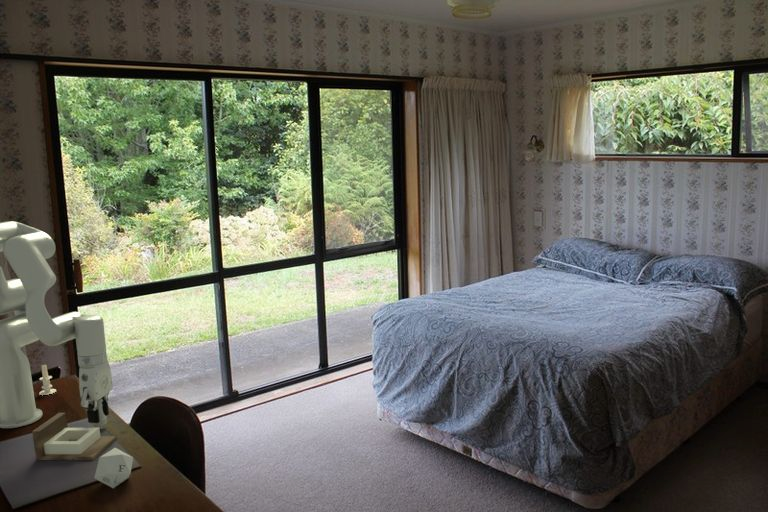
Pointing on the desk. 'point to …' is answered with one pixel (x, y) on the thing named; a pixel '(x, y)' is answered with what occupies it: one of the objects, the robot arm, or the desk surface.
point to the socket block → (64, 446)
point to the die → (114, 467)
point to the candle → (46, 382)
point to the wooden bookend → (59, 424)
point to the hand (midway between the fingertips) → (98, 418)
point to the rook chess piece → (100, 415)
